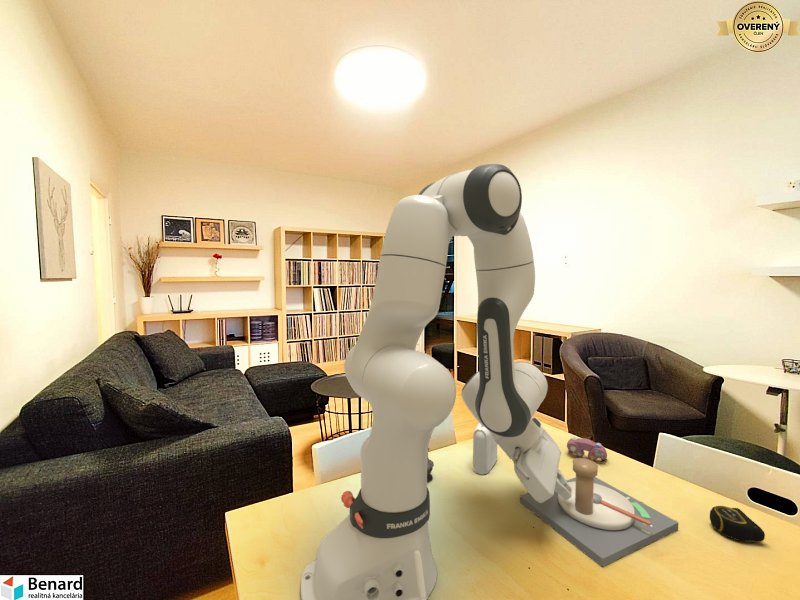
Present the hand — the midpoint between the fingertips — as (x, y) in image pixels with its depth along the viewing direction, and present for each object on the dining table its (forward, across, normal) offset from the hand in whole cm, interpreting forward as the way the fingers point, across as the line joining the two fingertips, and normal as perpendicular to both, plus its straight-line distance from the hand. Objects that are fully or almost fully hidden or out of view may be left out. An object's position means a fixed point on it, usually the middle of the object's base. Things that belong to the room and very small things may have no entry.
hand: (569, 495), depth 74 cm
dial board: (+7, +4, +1) cm, 8 cm away
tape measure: (+25, +12, -16) cm, 32 cm away
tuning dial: (+7, +4, -2) cm, 8 cm away
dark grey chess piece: (-20, +1, +28) cm, 34 cm away
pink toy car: (+6, +31, +2) cm, 32 cm away
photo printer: (-11, +14, +19) cm, 26 cm away
